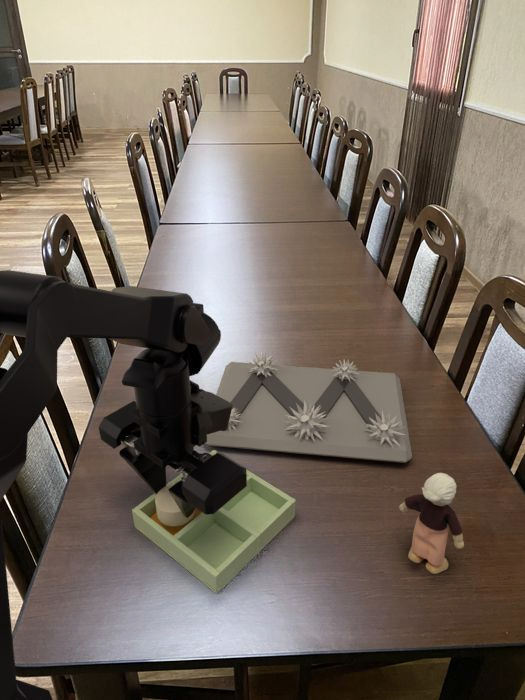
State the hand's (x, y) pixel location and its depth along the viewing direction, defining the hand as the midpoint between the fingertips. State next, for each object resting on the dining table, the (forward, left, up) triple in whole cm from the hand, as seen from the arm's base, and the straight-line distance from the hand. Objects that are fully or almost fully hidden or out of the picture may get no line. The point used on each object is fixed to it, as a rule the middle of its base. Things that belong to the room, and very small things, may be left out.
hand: (175, 504), depth 65 cm
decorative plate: (+28, +1, -4) cm, 29 cm away
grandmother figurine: (+15, -25, -4) cm, 30 cm away
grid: (+3, -3, -3) cm, 6 cm away
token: (0, 0, -1) cm, 1 cm away
